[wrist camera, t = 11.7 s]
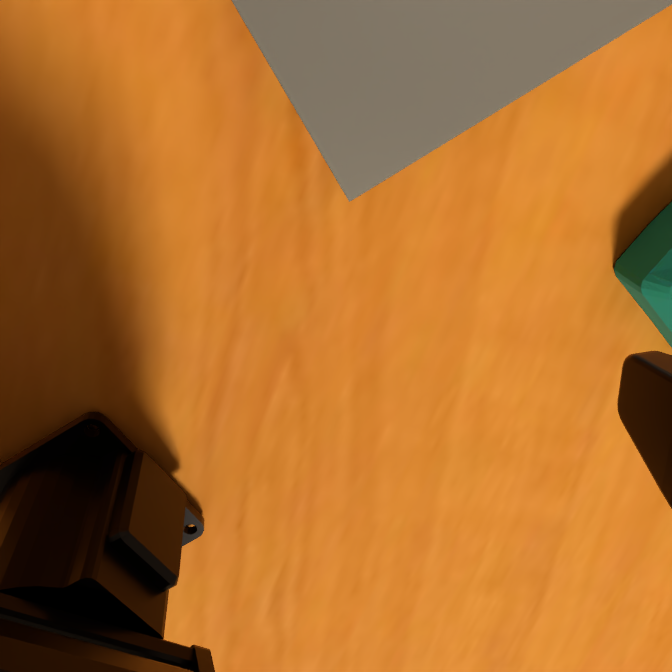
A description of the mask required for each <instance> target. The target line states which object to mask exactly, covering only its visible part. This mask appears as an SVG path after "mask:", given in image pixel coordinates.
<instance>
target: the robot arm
mask: <svg viewBox="0 0 672 672" xmlns="http://www.w3.org/2000/svg"><path fill="white" fill-rule="evenodd" d="M618 412H619V416H620V419H621V421H622V423H623V425H624V426H625V428H626V430H627V432H628V433H629V435H630V437H631V439H632V441H633V442H634V444H635V446H636V448H637V449H638V451H639V453H640V455H641V457H642V458H643V460H644V462H645V464H646V465H647V467H648V469H649V471H650V473H651V474H652V476H653V478H654V480H655V482H656V483H657V485H658V487H659V489H660V490H661V492H662V494H663V495H664V497H665V499H666V500H667V502H668V504H669V505H670V507H671V508H672V355H669V354H666V353H662V352H659V351H649V352H642V353H636V354H631V355H629V356H628V357H627V358H626V359H625V361H624V363H623V367H622V374H621V381H620V388H619V395H618ZM88 425H96V426H97V427H99V430H91V429H89V428H88V427H87V426H88ZM189 524H193V525H195V526H193V527H188V526H186V525H189ZM203 531H204V518H203V516H202V515H201V514H200V513H199V512H198V511H197V510H196V509H195V508H194V507H193V506H192V505H191V504H190V503H189V502H188V501H187V500H186V494H185V493H184V492H183V491H182V490H181V488H180V487H179V486H178V485H177V484H176V483H175V482H174V481H173V480H172V479H171V478H170V477H169V476H168V475H167V474H166V473H165V472H164V471H163V470H162V469H161V468H160V467H159V466H158V465H157V464H156V463H155V462H154V461H153V459H152V458H151V457H150V456H149V455H148V454H147V453H146V452H143V451H140V450H138V449H137V448H136V447H135V446H134V445H133V444H132V443H131V442H130V441H129V440H128V439H127V438H126V437H125V436H124V435H123V434H122V433H121V432H120V431H119V430H118V429H117V428H116V427H115V425H114V424H113V423H112V422H111V421H110V420H109V419H108V418H107V417H106V416H104V415H103V414H101V413H97V412H89V413H86V414H84V415H82V416H81V417H79V418H77V419H76V420H74V421H72V422H71V423H69V424H67V425H66V426H64V427H62V428H61V429H59V430H57V431H56V432H54V433H52V434H51V435H49V436H47V437H46V438H44V439H42V440H41V441H39V442H37V443H36V444H34V445H32V446H31V447H29V448H27V449H26V450H24V451H22V452H21V453H19V454H17V455H16V456H14V457H12V458H11V459H9V460H7V461H6V462H4V463H2V464H1V465H0V672H215V670H214V665H213V661H212V656H211V652H210V649H207V648H203V647H200V646H196V645H192V646H191V647H187V646H184V645H180V644H177V643H173V642H170V641H166V640H163V638H164V629H165V620H166V611H167V602H168V593H169V589H170V588H172V587H174V586H176V585H177V582H178V577H179V569H180V559H181V548H182V546H184V545H185V544H187V543H189V542H191V541H193V540H194V539H196V538H198V537H199V536H201V535H202V533H203Z"/></svg>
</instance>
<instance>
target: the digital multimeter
mask: <svg viewBox="0 0 672 672" xmlns="http://www.w3.org/2000/svg"><path fill="white" fill-rule="evenodd" d="M614 271H615V275H616V277H617V278H618V279H619V280H620V282H621V283H622V284H623V285H624V287H625V288H626V289H627V291H628V292H629V293H630V294H631V296H632V297H633V298H634V299H635V301H636V302H637V303H638V304H639V306H640V307H641V308H642V309H643V311H644V312H645V313H646V314H647V316H648V317H649V318H650V319H651V321H652V322H653V323H654V325H655V326H656V327H657V329H658V330H659V331H660V333H661V334H662V335H663V337H664V338H665V339H666V341H667V342H668V343H669V345H670V346H671V347H672V202H671V203H670V204H669V205H668V206H667V207H666V208H665V209H664V210H663V211H662V212H661V213H660V214H659V215H658V216H657V217H656V218H655V219H654V220H653V221H652V222H651V223H650V224H649V225H648V226H647V227H646V228H645V229H644V230H643V231H642V233H641V234H640V235H639V236H638V237H637V238H636V239H635V241H634V242H633V243H632V244H631V245H630V246H629V247H628V249H627V250H626V251H625V252H624V253H623V254H622V255H621V257H620V258H619V259H618V260H617V261H616V264H615V267H614Z"/></svg>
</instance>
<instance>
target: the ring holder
mask: <svg viewBox="0 0 672 672" xmlns="http://www.w3.org/2000/svg"><path fill="white" fill-rule="evenodd" d="M232 2H233V4H234V5H235V7H236V9H237V10H238V12H239V14H240V15H241V17H242V19H243V21H244V22H245V24H246V26H247V27H248V29H249V31H250V33H251V34H252V36H253V38H254V39H255V41H256V43H257V45H258V46H259V48H260V50H261V51H262V53H263V55H264V57H265V58H266V60H267V62H268V63H269V65H270V67H271V69H272V70H273V72H274V74H275V75H276V77H277V79H278V81H279V82H280V84H281V86H282V87H283V89H284V91H285V92H286V94H287V96H288V98H289V99H290V101H291V103H292V104H293V106H294V108H295V110H296V111H297V113H298V115H299V116H300V118H301V120H302V122H303V123H304V125H305V127H306V128H307V130H308V132H309V134H310V135H311V137H312V139H313V140H314V142H315V144H316V146H317V147H318V149H319V151H320V152H321V154H322V156H323V157H324V159H325V161H326V163H327V164H328V166H329V168H330V169H331V171H332V173H333V175H334V176H335V178H336V180H337V181H338V183H339V185H340V187H341V188H342V190H343V192H344V193H345V195H346V197H347V199H348V200H349V202H350V201H352V200H353V199H355V198H356V197H358V196H360V195H361V194H363V193H365V192H366V191H368V190H369V189H371V188H373V187H374V186H376V185H378V184H379V183H381V182H383V181H384V180H386V179H387V178H389V177H391V176H392V175H394V174H396V173H397V172H399V171H400V170H402V169H404V168H405V167H407V166H409V165H410V164H412V163H414V162H415V161H417V160H418V159H420V158H422V157H423V156H425V155H427V154H428V153H430V152H431V151H433V150H435V149H436V148H438V147H440V146H441V145H443V144H445V143H446V142H448V141H449V140H451V139H453V138H454V137H456V136H458V135H459V134H461V133H462V132H464V131H466V130H467V129H469V128H471V127H472V126H474V125H476V124H477V123H479V122H480V121H482V120H484V119H485V118H487V117H489V116H490V115H492V114H493V113H495V112H497V111H498V110H500V109H502V108H503V107H505V106H507V105H508V104H510V103H511V102H513V101H515V100H516V99H518V98H520V97H521V96H523V95H524V94H526V93H528V92H529V91H531V90H533V89H534V88H536V87H538V86H539V85H541V84H542V83H544V82H546V81H547V80H549V79H551V78H552V77H554V76H555V75H557V74H559V73H560V72H562V71H564V70H565V69H567V68H569V67H570V66H572V65H573V64H575V63H577V62H578V61H580V60H582V59H583V58H585V57H586V56H588V55H590V54H591V53H593V52H595V51H596V50H598V49H600V48H601V47H603V46H604V45H606V44H608V43H609V42H611V41H613V40H614V39H616V38H617V37H619V36H621V35H622V34H624V33H626V32H627V31H629V30H631V29H632V28H634V27H635V26H637V25H639V24H640V23H642V22H644V21H645V20H647V19H649V18H650V17H652V16H653V15H655V14H657V13H658V12H660V11H662V10H663V9H665V8H666V7H668V6H670V5H671V4H672V0H232Z"/></svg>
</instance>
